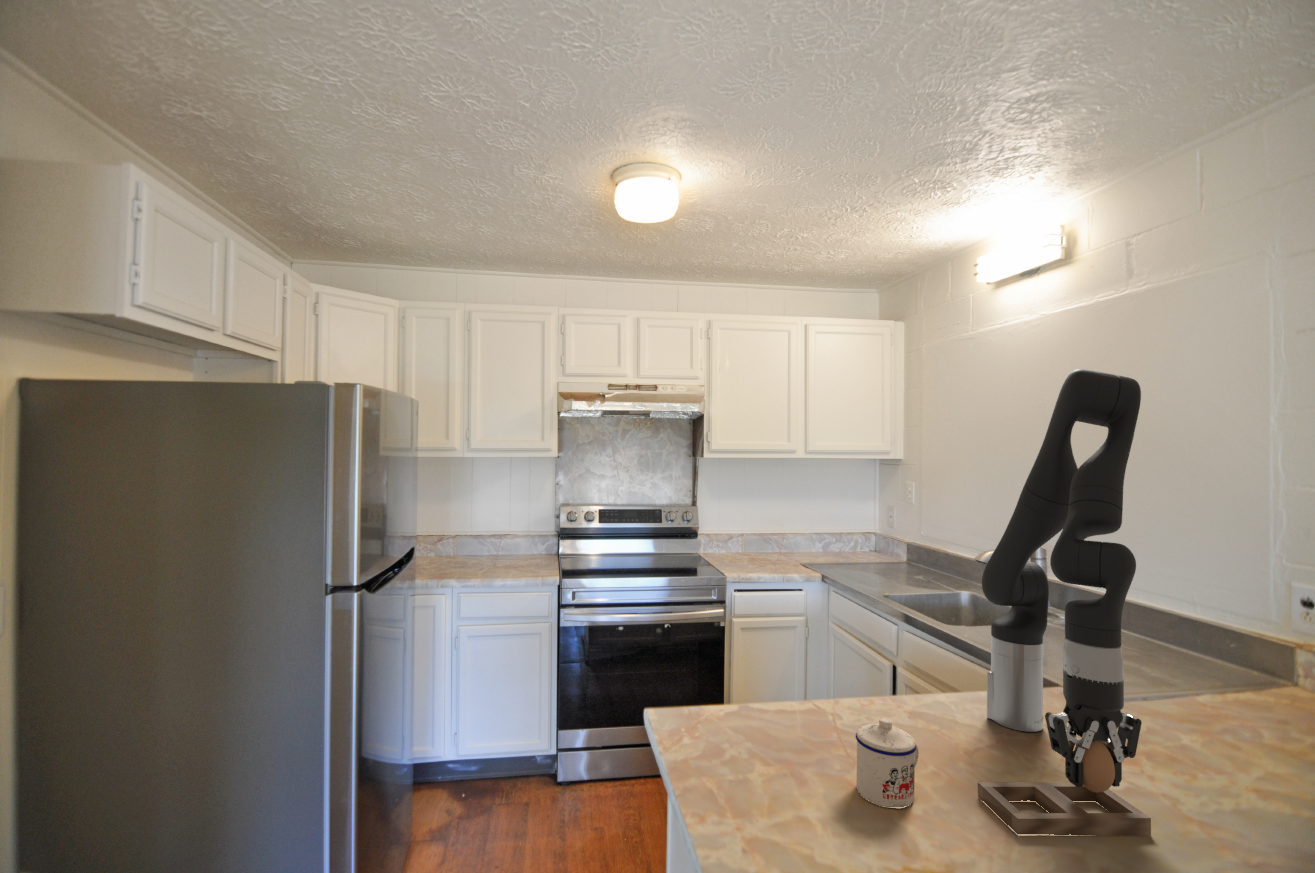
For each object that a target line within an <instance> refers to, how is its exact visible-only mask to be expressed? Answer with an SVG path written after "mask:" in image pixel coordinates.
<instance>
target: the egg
mask: <svg viewBox="0 0 1315 873" xmlns="http://www.w3.org/2000/svg"><path fill="white" fill-rule="evenodd" d="M1081 762H1082V763H1083V785H1084V786H1085V787H1086V788H1087V789H1088V790H1090V791H1092V792H1096V793H1099V792H1104V791H1106V790H1108V789H1109V790H1110V788H1111V787H1112V784H1113V782H1114V779H1115V766H1114V762H1113V759H1112V756H1111V754H1110V752H1109V751H1108V749H1107V747H1106V746H1105V745H1104V744H1103V743H1102V742H1101V741H1100V740H1096V741H1092V742H1091V745H1090V748H1089V749H1087V750H1085V752H1084V755H1083V758H1082V761H1081Z"/></svg>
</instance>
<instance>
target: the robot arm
mask: <svg viewBox="0 0 1315 873" xmlns="http://www.w3.org/2000/svg"><path fill="white" fill-rule="evenodd" d="M1141 389H1142V388H1141V386H1140V384H1139V382H1138V381H1137V379H1134V378H1131V377H1128V376H1124V375H1119V374H1112V373H1108V372H1102V371H1096V370H1092V369H1091V370H1090V369H1082V368H1077V369H1074V370H1072V371H1071V372H1070V373H1069V374H1068V376H1067V377H1066V378H1065V379H1064V382H1063V383H1062V386H1061V388H1060V390H1059V394H1058V396H1057V399H1056V402H1055V406H1054V407H1053V408H1054V409H1053V410H1052V411H1053V412H1052V414H1051V417H1050V420H1049V423H1048V427H1047V430H1046V433H1045V436H1044V439H1043V441H1042V444H1041V447H1040V449H1039V452H1038V454H1037V456H1036V459H1035V460H1034V463H1033V466H1032V468H1031V469H1030V471H1029V473H1028V476H1027V478H1026V480H1025V483H1024V484H1023V487H1022V490H1021V492H1020V494H1019V497H1018V500H1017V503H1016V506H1015V508H1014V511H1013V513H1012V516H1011V517H1010V520H1009V522H1008V523H1007V525H1006V526H1007V527H1006V528H1005V530H1004V532H1003V535H1002V536H1001V538H1000V540H999V542H998V544H997V546H996V547H995V549H994V551H993V553H992V554H991V556H990V558H989V559H988V560H987V563H986V564H985V568H984V570H983V573H982V578H981V589H982V592H983V594H984V598H986V600H988V602H990V603H991V604H994V605H997V606H1002V607H1011V608H1010V609H1009V610H1008V611H1007V613H1005V614H1004V615H1002V616H1001V617H998V618H996V619H994V620H993V621H992V623H991V627H990V633H991V638H990V640H991V641H990V647H991V648H990V649H991V650H990V652H991V653H990V670H988V671H987V673H986V674H987V675H986V718H987V719H990V720H992V721H993V722H994V723H997V724H999V725H1001V726H1003V727H1004V728H1008V729H1010V730H1011V729H1012V730H1015V731H1019V732H1026V733H1028V732H1029V733H1034V732H1036V733H1037V732H1040V731H1042V730H1043V729H1044V727H1043V725H1044V717H1045V722H1046V728H1047V732H1048V737H1049V742H1050V746H1051V750H1052V751H1054V752H1055V753H1057V754H1059V755H1060V756H1061V757H1063V758H1064V762H1065V764H1064V765H1065V766H1064V768H1065V770H1064V772H1065V773H1064V775H1065V777H1066V779H1067V780H1068V782H1071V783H1072V784H1073V785H1075V786H1076V787H1083V763H1082V762H1081V761H1082V758H1083V755H1084V752H1085V750H1087V749H1089V748H1090V745H1091V742H1092V741H1096V740H1100V741H1101V742H1102V743H1103V744H1104V745H1105V746H1106V747H1107V749H1108V751H1109V752H1110V754H1111V756H1112V759H1113V762H1114V766H1115V779H1114V782H1113V784H1112V785H1111V787H1116V788H1117V787H1120V784H1121V782H1122V780H1123V778H1122V777H1123V776H1122V775H1123V774H1122V772H1123V771H1122V770H1123V769H1122V768H1123V767H1122V763H1124V761H1125V759H1126V758H1130V759H1134V758H1135V757H1136V754H1137V749H1138V744H1139V739H1140V733H1141V728H1142V720H1141V719H1140V718H1139V717H1136V716H1134V715H1132V714H1129V713H1128V712H1125V711H1123V712H1122V709H1124V707H1125V687H1124V686H1125V682H1124V681H1125V678H1124V677H1125V676H1124V672H1125V670H1124V669H1125V668H1124V667H1125V666H1124V658H1123V651H1122V615H1123V610H1124V605H1125V601H1126V599H1127V596H1128V593H1129V590H1130V588H1131V585H1132V582H1133V580H1134V577H1135V574H1136V570H1137V561H1136V558H1135V555H1134V553H1133V552H1132V551H1131V549H1130V548H1129V547H1127V546H1126V545H1124V544H1122V543H1119V542H1110V541H1098V540H1097V541H1096V540H1095V541H1094V540H1086V539H1088V538H1090V537H1095V536H1105V535H1109V534H1113V533H1116V532H1117V531H1119V530H1120V528H1121V527H1122V524H1123V510H1124V509H1123V508H1124V507H1123V506H1124V505H1123V504H1124V485H1125V476H1126V469H1127V465H1128V461H1129V457H1130V453H1131V449H1132V445H1133V441H1134V437H1135V431H1136V428H1137V423H1138V418H1139V412H1140V409H1141V401H1142V400H1141V399H1142V391H1141ZM1077 422H1079V423H1085V424H1089V425H1094V426H1099V427H1104V428H1107V436H1106V438H1105V440H1104V442H1103V444H1102V445H1101V446H1100V447H1099V448H1098V449H1097V450H1096V451H1095V452H1094V453H1092V455H1090V457H1089V458H1087V459H1086V460H1085V461H1083V463H1082V464H1081V465H1080V466H1079V467H1078V466H1077V463H1076V459H1075V456H1074V453H1073V448H1072V432H1073V428H1074V425H1075V423H1077ZM1060 532H1061V533H1060ZM1059 533H1060V534H1059ZM1058 534H1059V536H1058V538H1057V540H1056V542H1055V544H1054V545H1053V548H1052V551H1051V554H1050V558H1049V559H1050V560H1049V561H1050V564H1049V565H1050V569H1051V571H1052V574H1053V575H1054V576H1055V577H1056V578H1057V580H1059V581H1060V582H1062V583H1063V584H1067V585H1068V584H1070V585H1077V586H1084V587H1091V588H1101V589H1105V590H1106V591H1105V593H1104V595H1102V596H1101V597H1099V598H1093V599H1076V600H1070V601H1068V602H1066V604H1065V607H1064V643H1063V650H1062V688H1063V689H1062V693H1063V694H1062V695H1063V697H1064V700H1065V706H1064V709H1063V711H1062V712H1058V713H1056V714H1055V713H1052V712H1050V711H1047V712H1046V713H1045V714H1044V641H1043V640H1044V636H1045V635H1044V634H1045V632H1046V630H1047V627H1048V616H1049V615H1048V613H1049V599H1050V596H1049V595H1050V588H1049V581H1048V577H1047V574H1046V572H1045V570H1044V569H1043V567H1042V566H1040V565H1039V564H1038V563H1037V562H1034V561H1029V560H1030V558H1031V557H1032V556H1033V554H1035V553H1036V551H1038V550H1039V549H1040V548H1041V547H1042V546H1044V545H1045V544H1046V543H1048V542H1049V541H1050V540H1051V539H1053V538H1054V537H1055V536H1057V535H1058ZM1044 715H1045V716H1044ZM1067 724H1068V726H1067ZM1077 736H1078V737H1080V738H1078V737H1077Z"/></svg>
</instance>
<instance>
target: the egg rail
mask: <svg viewBox="0 0 1315 873" xmlns="http://www.w3.org/2000/svg"><path fill="white" fill-rule="evenodd" d="M978 797H979V798H980V799H981V800H982V801H984V802H985V803H986V804H987V805H988V806H989V807H990V808H991V809H992V810H993V811H994V812H995V813H996V814H997V815H998V816H999V817H1000V818H1001V819H1002V820H1003V821H1004V822H1005V823H1006V824H1007V825H1009V826H1010V827H1011V828H1012V829H1013V830H1014V831H1015V832H1016V833H1017V834H1049V835H1050V834H1054V835H1069V834H1071V835H1096V836H1095V837H1142V836H1145V837H1147V836H1148V837H1151V836H1152V817H1150V816H1149V815H1148V814H1146V813H1144V812H1143V811H1142V810H1140V809H1139V808H1137V807H1135V806H1134V805H1132V804H1131V803H1129V801H1126V800H1125V799H1124V798H1123V797H1121V796H1119V795H1118V794H1116V793H1115V792H1114V791H1112V790H1110V788H1109V789H1108V790H1106V791H1104V792H1099V793H1096V792H1092V791H1090V790H1088V789H1087V788H1086V787H1085V786H1084V785H1083V787H1076V786H1075V785H1073V784H1072V783H1071V782H1069V781H1067V782H1066V781H1062V782H1061V781H1049V782H1048V781H1043V782H1042V781H1037V782H1036V781H1034V782H1033V781H1030V782H1029V781H1026V782H1025V781H1024V782H1022V781H1020V782H1019V781H1018V782H1017V781H1013V782H1012V781H1011V782H1010V781H1009V782H1008V781H1006V782H1005V781H999V782H998V781H996V782H995V781H994V782H993V781H990V782H989V781H988V782H986V781H983V782H982V781H978V782H977V798H978ZM1021 800H1023V801H1027V800H1030V801H1036V802H1037V803H1038V804H1039V805H1040V806H1042V807H1043V808H1044V809H1045V810H1047V811H1048V812H1049V813H1046V812H1045V813H1044V812H1035V813H1034V812H1033V813H1032V812H1030V813H1029V812H1028V813H1027V812H1026V813H1022V812H1021V811H1020V810H1019V809H1018V808H1016V806H1014V804H1013V803H1010V802H1009V801H1021ZM1073 801H1096V802H1098V803H1099V804H1100V805H1101V806H1103V807H1104V808H1105V809H1107V810H1108V811H1109V812H1110V813H1109V812H1108V811H1107V812H1087V810H1085V809H1084V808H1082V807H1081V806H1080V805H1078V804H1077V803H1074V802H1073ZM1100 805H1099V806H1100ZM1101 806H1100V807H1101ZM1104 808H1103V809H1104ZM1105 809H1104V810H1105Z"/></svg>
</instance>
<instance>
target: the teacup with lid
mask: <svg viewBox="0 0 1315 873" xmlns="http://www.w3.org/2000/svg"><path fill="white" fill-rule="evenodd" d="M855 739H856V791H857V790H858V791H857V792H858V794H859V793H860V794H861V795H860V794H859V795H860V796H861V797H862V796H863V797H864V798H865V799H867V800H869V801H870V802H873V803H875V804H877V805H880V806H885V807H904V806H908V805H910V806H912V805H911V803H912V802H913V801H915V768H916V765H917V763H918V761H919V747H918V744H916V741H915V739H914V737H913V736H912V735H910V734H909V733H908V732H906V731H905V730H903V729H901V728H898V727H897V726H894V725H893V722H892V720H891V719H889V718H887V717H883V718H881V717H880V719H879V721H878V722H877V723H869V724H864V725H862V726H860V727H859V728H858V729H857V730H856V732H855ZM863 797H862V798H863ZM864 798H863V799H864ZM865 799H864V800H865ZM867 800H866V801H867ZM869 801H868V802H869ZM870 802H869V803H870ZM913 803H914V802H913ZM877 805H876V806H877ZM880 806H879V807H880Z"/></svg>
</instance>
